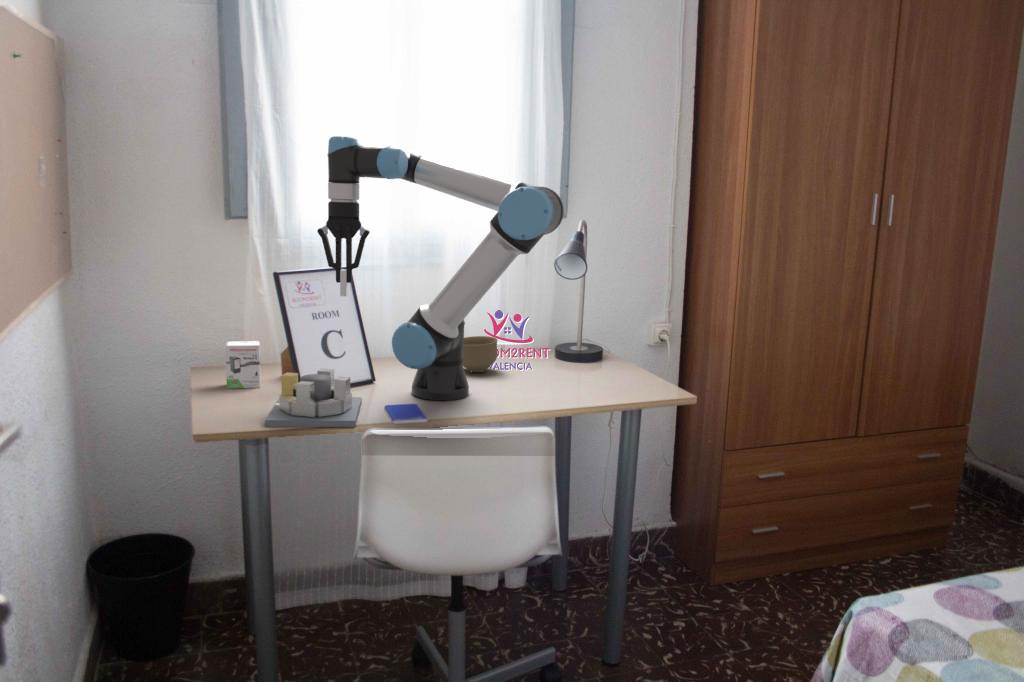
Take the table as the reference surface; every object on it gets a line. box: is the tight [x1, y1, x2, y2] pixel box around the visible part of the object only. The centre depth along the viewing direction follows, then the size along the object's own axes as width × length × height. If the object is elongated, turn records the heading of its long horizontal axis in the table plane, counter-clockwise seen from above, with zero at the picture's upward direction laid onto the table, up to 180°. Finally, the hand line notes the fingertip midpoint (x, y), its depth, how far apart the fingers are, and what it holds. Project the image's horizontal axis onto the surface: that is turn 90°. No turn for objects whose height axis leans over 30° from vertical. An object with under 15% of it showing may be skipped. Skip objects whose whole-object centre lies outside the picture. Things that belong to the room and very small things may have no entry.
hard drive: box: [384, 403, 428, 425], centre depth 198 cm, size 2×8×12 cm
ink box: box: [225, 340, 261, 390], centre depth 216 cm, size 9×5×12 cm, turn 107°
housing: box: [264, 373, 363, 428], centre depth 195 cm, size 20×20×9 cm
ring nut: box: [279, 367, 353, 417], centre depth 195 cm, size 16×16×8 cm
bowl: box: [463, 335, 498, 373], centre depth 243 cm, size 13×13×10 cm
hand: (343, 295), depth 207 cm, fingers closed
